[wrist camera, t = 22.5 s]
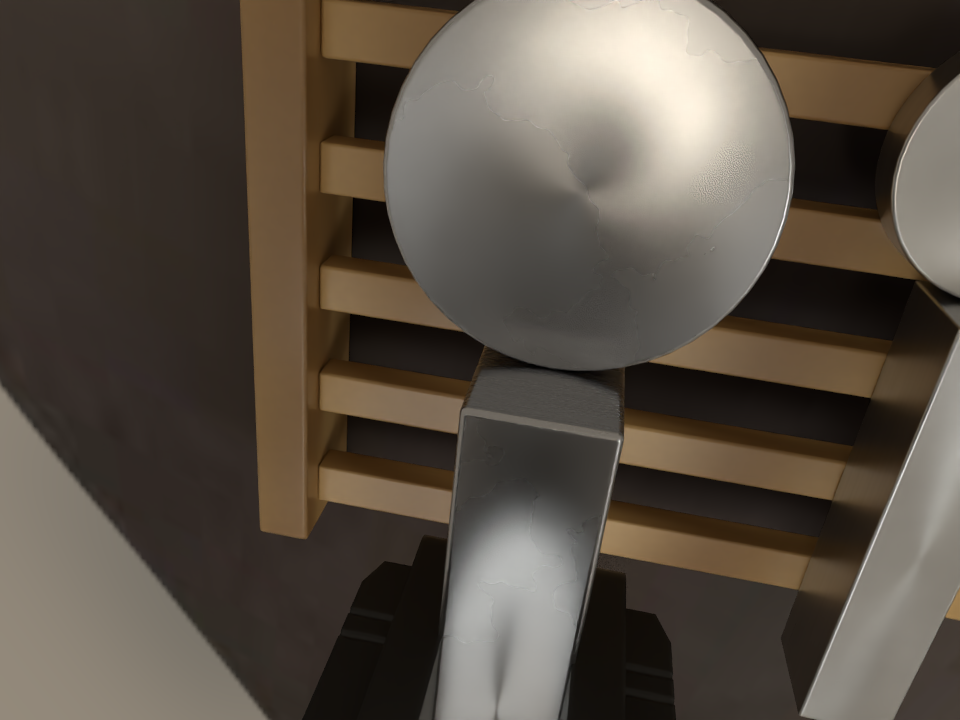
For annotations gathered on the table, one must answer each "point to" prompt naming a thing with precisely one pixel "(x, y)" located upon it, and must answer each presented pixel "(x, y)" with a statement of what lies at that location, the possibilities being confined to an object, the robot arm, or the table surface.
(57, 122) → the table surface
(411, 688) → the robot arm
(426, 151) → the spoon
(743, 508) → the table surface
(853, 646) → the spoon
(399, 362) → the table surface
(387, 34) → the rack
